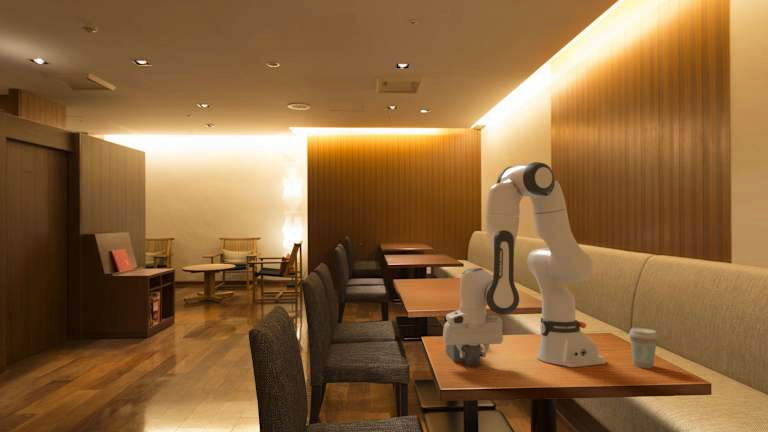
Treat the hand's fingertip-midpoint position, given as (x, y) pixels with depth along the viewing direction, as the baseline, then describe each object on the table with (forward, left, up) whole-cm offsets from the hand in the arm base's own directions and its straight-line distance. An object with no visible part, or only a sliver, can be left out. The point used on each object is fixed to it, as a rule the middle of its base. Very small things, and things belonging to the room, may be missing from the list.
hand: (472, 357), depth 159 cm
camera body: (+1, -10, -3) cm, 10 cm away
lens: (0, 0, -3) cm, 3 cm away
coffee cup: (-57, +7, -3) cm, 58 cm away
